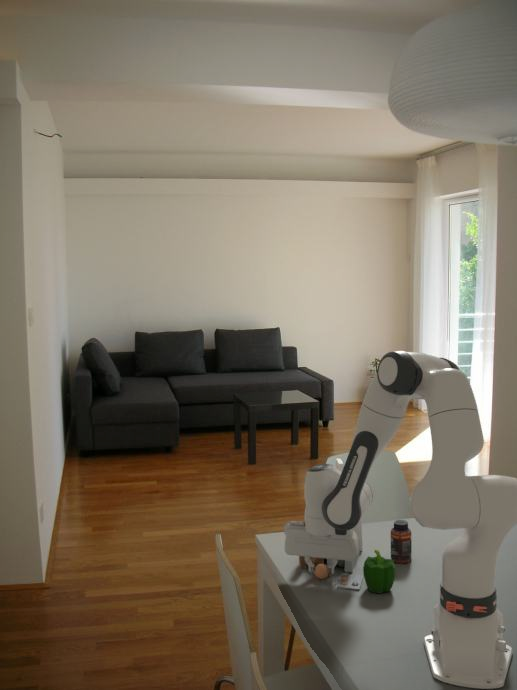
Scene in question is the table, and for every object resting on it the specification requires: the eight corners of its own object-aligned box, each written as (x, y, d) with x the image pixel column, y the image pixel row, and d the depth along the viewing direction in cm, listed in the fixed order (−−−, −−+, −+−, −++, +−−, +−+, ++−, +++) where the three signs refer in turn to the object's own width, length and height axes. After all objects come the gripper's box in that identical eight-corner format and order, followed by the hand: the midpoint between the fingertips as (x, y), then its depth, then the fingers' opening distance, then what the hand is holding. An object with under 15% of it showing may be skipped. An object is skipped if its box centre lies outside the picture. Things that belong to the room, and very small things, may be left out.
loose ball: (327, 582, 190) (327, 567, 190) (313, 580, 192) (312, 566, 191) (330, 575, 194) (330, 561, 194) (315, 574, 195) (315, 560, 195)
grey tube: (352, 572, 196) (351, 541, 195) (327, 569, 198) (326, 539, 197) (355, 562, 203) (355, 531, 202) (331, 559, 205) (331, 529, 204)
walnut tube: (323, 569, 198) (323, 538, 197) (299, 567, 200) (298, 536, 199) (328, 559, 205) (327, 529, 204) (304, 557, 207) (304, 527, 206)
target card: (359, 590, 185) (359, 588, 185) (336, 588, 187) (336, 586, 187) (363, 577, 193) (363, 575, 193) (341, 575, 194) (341, 573, 194)
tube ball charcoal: (347, 569, 198) (347, 555, 197) (333, 568, 199) (333, 554, 199) (349, 563, 202) (349, 550, 201) (335, 562, 203) (335, 549, 202)
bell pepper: (394, 598, 181) (394, 560, 179) (362, 595, 183) (361, 558, 181) (396, 583, 189) (396, 547, 188) (365, 581, 191) (365, 545, 190)
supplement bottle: (415, 559, 204) (415, 521, 202) (404, 566, 199) (404, 527, 198) (397, 553, 208) (397, 516, 207) (386, 560, 204) (386, 522, 202)
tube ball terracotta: (319, 566, 200) (319, 553, 200) (305, 565, 201) (305, 551, 201) (322, 561, 204) (321, 547, 204) (308, 559, 205) (308, 546, 205)
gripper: (281, 524, 191) (282, 573, 193) (356, 530, 185) (356, 580, 187) (286, 516, 197) (287, 563, 199) (359, 522, 191) (360, 570, 193)
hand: (321, 572), depth 193 cm, fingers closed on loose ball, 4 cm apart
